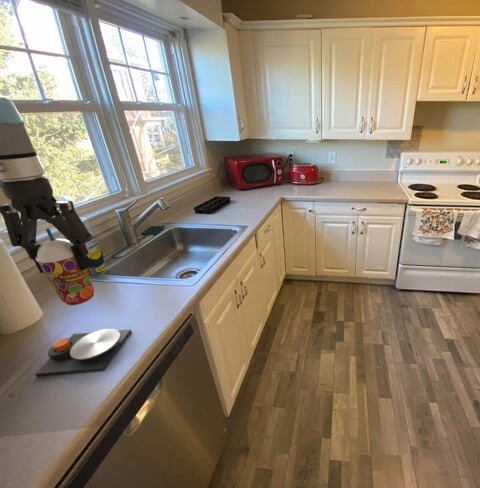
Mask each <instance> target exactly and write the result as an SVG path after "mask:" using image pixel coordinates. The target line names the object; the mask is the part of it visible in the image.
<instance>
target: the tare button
mask: <svg viewBox="0 0 480 488" xmlns="http://www.w3.org/2000/svg"><path fill="white" fill-rule="evenodd" d="M68 339H69V338H61V339H59V340H57V341H55V342H54V343H53V344H52V346H53V347H54V349H55V351H56V352H61V351H64V350H66V349H67V348H69V347H70V346H71V344H70V342H69V340H68Z"/></svg>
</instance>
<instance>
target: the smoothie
mask: <svg viewBox="0 0 480 488" xmlns="http://www.w3.org/2000/svg"><path fill="white" fill-rule="evenodd" d="M45 231H46V233H47V235H48V237H49V239H48V240H46V241H45V242H43V243H41V246H40V247H39V249H38V251H37V257H36V261H37V262H38V264H39V265H40V267H41V268H42V270H43V272H44V273H43V274H44V275H45V276H46V278H47V279H48V281H49V283H50V284H51V286H52V287H53V289H54V290H55V293H56V294H57V296H58V297H59V299H60V300H61V302H63V303H64V304H66V305H68V306H77V305H82V304H84V303H86V302H88V301H90V300H92V298H94V296H95V287H94V283H93V280H92V278H91V275H90V272H89V269H88V267H87V268H86V269H85V270H80V268H79V266H78V263H77V261H76V259H75V257H74V254H73V252H72V250H71V248H70V247H71V246H72V245H73V244H72V243H71V242H70V241H69V240H68V239H67V238H59V237H58V238H55V237H54V235H53V233H52V231H51V229H50V228H46V229H45Z"/></svg>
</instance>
